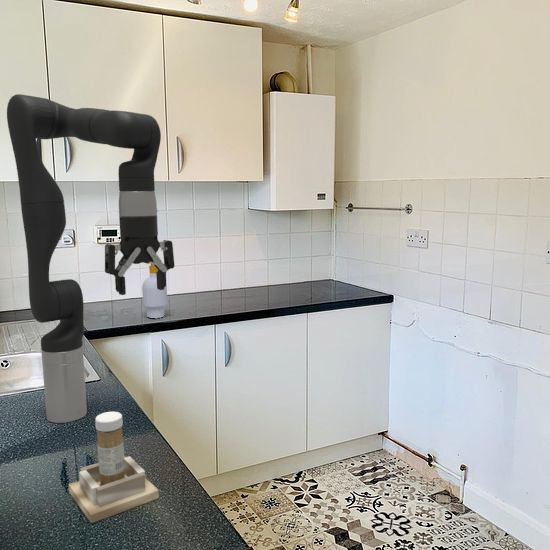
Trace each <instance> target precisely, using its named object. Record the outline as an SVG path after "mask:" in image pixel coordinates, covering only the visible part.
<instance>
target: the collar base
mask: <svg viewBox="0 0 550 550" xmlns="http://www.w3.org/2000/svg"><path fill="white" fill-rule="evenodd" d="M124 463H125V469H124V473H125V478H123V479H120V480H117V481H114V482H111V483H108V484H105V485H102V486H100V472H99V462H97V463H94V464H90V465H87V466H86V465H85V466H84V467H80V468H79V469H80V471H79V472H78V477H79V480H77V481H74V482H71V483H68V485H67V486H68V493H69V494H70V495H71V497H72V498H73V500H74V501H75V502H76V504H77V505H78V507H79V508H80V510H81V511H82V512H83V514H84V515H85V517H86V518H87V519H88V521H89V522H90V524H93V523H96V522H99V521H101V520H104V519H105V520H106V519H107V518H110V517H112V516H115V515H118V514H120V513H123V512H126V511H129V510H131V509H133V508H137V507H139V506H142V505H144V504H147V503H150V502H152V501H155V500H157V499H159V498H160V494H159V493H160V491H159V489H158V488H157V487H156V486H155V485H154V484H153V483H152V482H151V481H150V480H149V479H147V477H146V470H144V468H142V467H141V466H140V465H139V464H138V463H137V462H136V461H135V459H133V458H132V457H131V456H129V455H128V456H126V455H125V454H124Z"/></svg>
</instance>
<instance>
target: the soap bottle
mask: <svg viewBox="0 0 550 550" xmlns="http://www.w3.org/2000/svg"><path fill="white" fill-rule="evenodd" d="M146 264H147V265H148V269H149V277H147V278H145V279H144V280H143V283H142V286H141V288H142V289H141V292H142V293H141V294H142V305H143V306H144V307H146V308H145V309H146V318H147V317H151V318H158V317H163V316H164V315H165V311H166V310H165V306H167V305H168V287H167V284H166V287H164V290H159V289H157V276H156V272H158V270H157V269H156V268H155V267H154V265H153V264H151V263H150V262H149V263H146ZM149 264H150V265H149ZM164 317H165V316H164ZM164 317H163V318H164Z"/></svg>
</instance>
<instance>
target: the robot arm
mask: <svg viewBox="0 0 550 550" xmlns="http://www.w3.org/2000/svg"><path fill="white" fill-rule="evenodd" d="M6 122H7V127H8V133H9V136H10V137H9V138H10V142H11V145H12V146H11V147H12V151H13V155H14V160H15V166H16V172H17V178H18V179H17V180H18V186H19V197H20V208H21V217H22V224H23V230H24V236H25V238H24V239H25V243H26V253H27V268H28V269H27V270H28V271H27V273H28V275H27V276H28V297H29V298H28V299H29V307H30V310H31V314H32V316H33V318H34V319H35V321H37V322H38V323H40V324H42V323H44V324H45V323H50V322H56V321H59V323H58V324H57V325H56V327H55V328H53V329H52V330H50V331H49V332H47V333H45V334H44V335H42V336H41V339H40V348H41V350H40V351H41V361H42V375H43V376H42V378H43V386H44V387H43V388H44V390H43V391H44V401H45V413H46V420H47V421H48V422H51V423H55V424H65V423H70V422H76V421H77V420H80V419H82V418H83V417H85V416H86V415H87V413H88V409H87V408H88V405H87V393H86V391H87V390H86V378H85V376H86V374H85V362H84V361H85V360H84V358H85V357H84V348H83V345H84V344H83V343H84V342H83V338H84V335H85V334H84V331H85V330H84V329H85V327H84V326H85V325H84V324H85V323H84V297H83V296H84V295H83V291H82V288H81V286H80V284H79V282H77V281H76V280H75V279H69V278H68V279H67V278H66V279H61V280H51V281H50V265H51V261H52V257H53V254H54V252H55V250H56V248H57V246H58V244H59V242H60V240H61V238H62V236H63V234H64V232H65V230H66V229H65V228H66V226H67V215H66V208H65V200H64V199H65V198H64V195H63V193H62V192H63V191H61V189H60V187H59V184H57V182H56V180H55V179H54V177H53V176H52V174H51V173H50V172H49V170H48V169H47V168H46V165H45V164H44V162H43V160H42V158H41V155H40V152H39V148H38V147H39V146H38V144H37V140H51V139H60V138H61V139H62V138H76V139H78V140H81V141H84V142H87V143H88V142H89V143H94V144H101V145H107V146H110V147H115V148H121V149H130V150H131V149H132V150H133V153H132V157H131V159H130V160H126V161H122V162H121V163H120V164H119V165H118V175H117V176H118V188H119V189H118V191H119V192H118V193H119V196H118V215H119V216H118V218H119V221H118V222H119V235H120V240H119V241H120V242H119V244H111V243H105V245H104V273H106V274H108V275H111V276H112V275H113V277H114V280H115V281H114V282H115V284H114V285H115V291H116V292H117V293H118V294H119V295H121V296H124V295H126V293H127V290H126V277H125V276H124V275H125V274H126V272H127V270H128V269H129V268H130V267H132V265H133V264H134V265H138V264H143V263H144V264H147V263H149V262H150V265H151V264H153V265H154V267H155V268H156V269H157V270H158V272H156V276H157V289H159V290H164V287H166V285H167V272H168V271H169V270H171V269H174V268H175V256H174V255H175V254H174V245H173V241H172V240H167V239H164V240H162V241H159V239H158V236H159V231H158V207H157V206H158V205H157V198H156V190H155V189H156V188H155V187H156V186H155V184H156V183H155V169H156V168H155V167H156V164H157V160H158V155H159V150H160V145H161V139H162V137H161V135H162V133H161V129H160V126H159V125H160V124H159V123H158V121H157V119H155V118H154V117H153V116H152V115H149V114H146V113H138V112H131V111H126V110H115V109H114V110H110V109H105V108H103V109H102V108H93V107H80V108H72V107H69V106H66V105H63V104H61V103H59V102H56V101H54V100H52V99H48V98H45V97H40V96H39V97H38V96H33V95H27V94H21V93H20V94H14V95H12V96H11V97H10V98H9V100H8V102H7V107H6ZM159 250H160V251H162V255H163V260H162V259H161V258H160V257H159V256H158V254H157V253H158V251H159ZM119 251H120V253H121V254H122V257H121V258H120V260H119V261H118V264H117V266H116V256H117V255H118V254H119V253H118V252H119Z"/></svg>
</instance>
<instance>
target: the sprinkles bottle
mask: <svg viewBox="0 0 550 550" xmlns="http://www.w3.org/2000/svg"><path fill="white" fill-rule="evenodd" d="M94 421H95V429H96V434H97V435H96V436H97V437H96V438H97V459H98V461H97V463H99V472H100V486H102V485H105V484H108V483H111V482H114V481H117V480H120V479H123V478H125V473H124V469H125V463H124V455H125V448H124V447H125V446H124V445H125V444H124V440H123V439H124V438H123V423H124V422H123V414H122V413H120V412H118V411H107V412H101V413H99V414H98V415H97V416H96V417H95V419H94Z"/></svg>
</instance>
